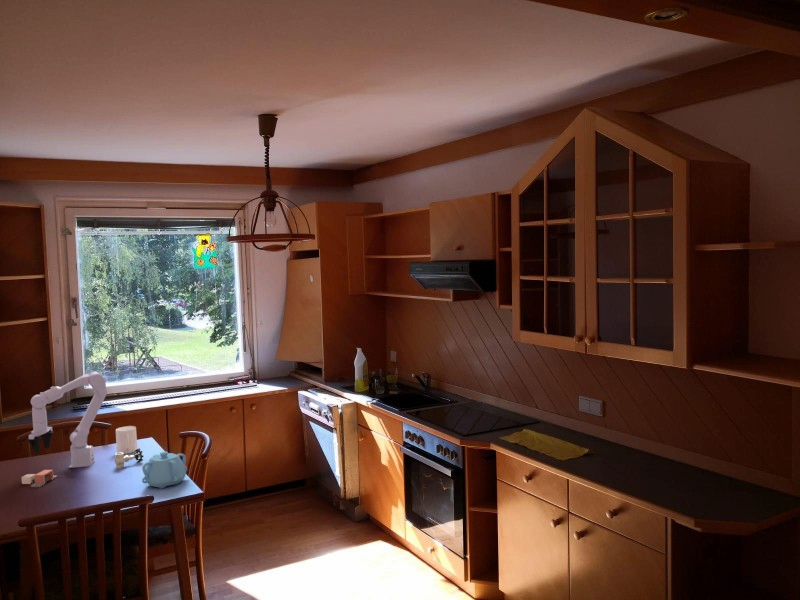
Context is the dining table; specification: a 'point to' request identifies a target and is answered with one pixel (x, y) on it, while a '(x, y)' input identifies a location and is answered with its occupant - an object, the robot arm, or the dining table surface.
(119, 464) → the valve
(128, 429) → the white cylinder
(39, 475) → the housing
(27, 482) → the plug
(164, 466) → the decorative pot
